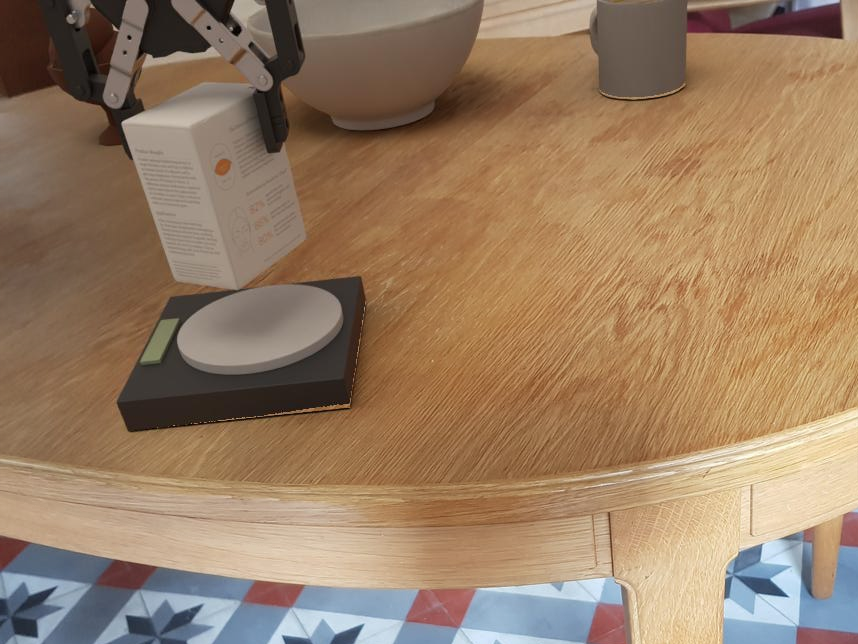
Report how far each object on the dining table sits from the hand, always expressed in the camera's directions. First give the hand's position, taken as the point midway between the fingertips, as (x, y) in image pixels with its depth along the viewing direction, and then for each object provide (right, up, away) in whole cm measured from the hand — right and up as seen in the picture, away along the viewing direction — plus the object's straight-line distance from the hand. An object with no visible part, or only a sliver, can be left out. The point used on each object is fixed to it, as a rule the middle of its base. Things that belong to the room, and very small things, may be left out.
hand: (212, 156), depth 59 cm
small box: (+1, -6, +4) cm, 7 cm away
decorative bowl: (+5, +23, +54) cm, 59 cm away
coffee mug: (+35, +26, +53) cm, 69 cm away
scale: (+1, -12, +9) cm, 15 cm away
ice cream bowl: (-28, +22, +58) cm, 68 cm away
